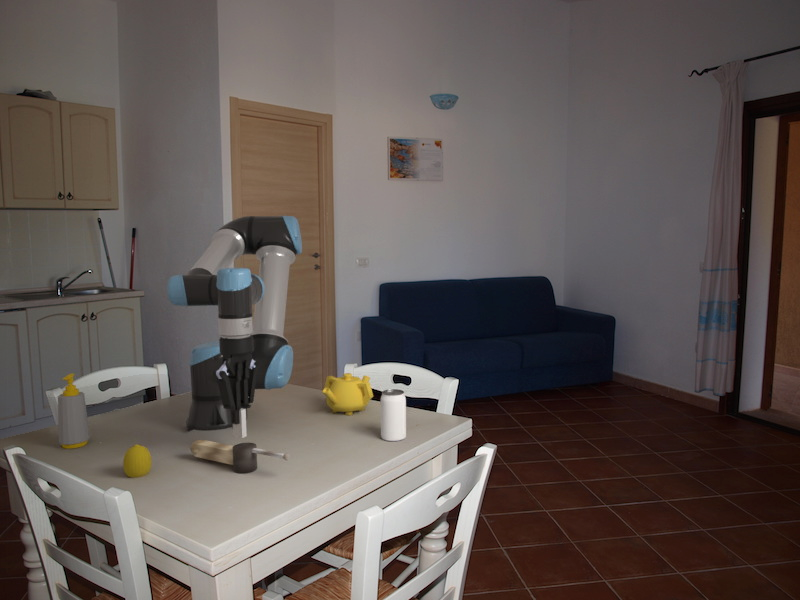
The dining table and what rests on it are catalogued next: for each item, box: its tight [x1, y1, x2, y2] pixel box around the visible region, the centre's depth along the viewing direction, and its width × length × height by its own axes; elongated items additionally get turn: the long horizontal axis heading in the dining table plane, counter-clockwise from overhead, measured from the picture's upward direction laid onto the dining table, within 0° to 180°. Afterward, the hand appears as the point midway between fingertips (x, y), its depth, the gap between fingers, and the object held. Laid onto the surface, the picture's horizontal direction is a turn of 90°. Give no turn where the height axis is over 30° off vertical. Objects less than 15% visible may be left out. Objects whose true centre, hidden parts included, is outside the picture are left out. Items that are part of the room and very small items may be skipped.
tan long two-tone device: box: [190, 439, 291, 474], centre depth 128 cm, size 27×5×5 cm, turn 63°
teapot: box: [322, 372, 374, 417], centre depth 174 cm, size 20×18×11 cm
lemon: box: [122, 443, 153, 479], centre depth 126 cm, size 6×6×8 cm
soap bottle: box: [57, 373, 91, 450], centre depth 147 cm, size 7×7×18 cm
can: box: [380, 388, 407, 443], centre depth 150 cm, size 6×6×12 cm
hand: (239, 436), depth 137 cm, fingers closed
